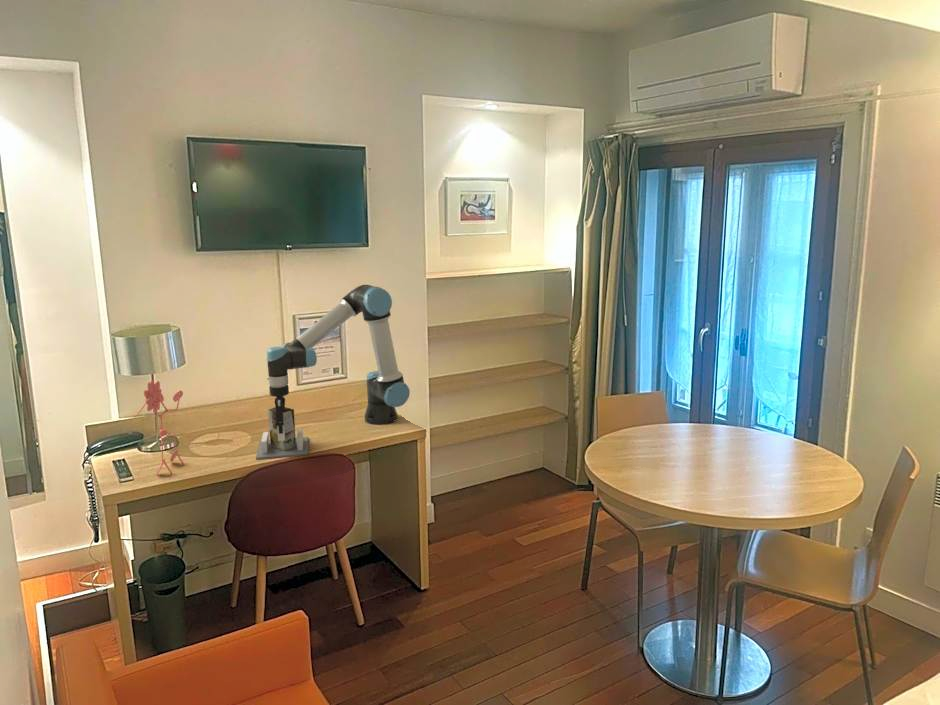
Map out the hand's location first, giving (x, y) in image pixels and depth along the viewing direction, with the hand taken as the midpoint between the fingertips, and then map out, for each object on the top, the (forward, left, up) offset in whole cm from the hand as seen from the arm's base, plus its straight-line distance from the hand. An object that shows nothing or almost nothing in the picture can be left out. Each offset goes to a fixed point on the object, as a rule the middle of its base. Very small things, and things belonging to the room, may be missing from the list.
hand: (282, 435), depth 282 cm
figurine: (+45, +11, -6) cm, 47 cm away
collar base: (0, 0, -6) cm, 6 cm away
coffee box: (0, 0, -5) cm, 5 cm away
